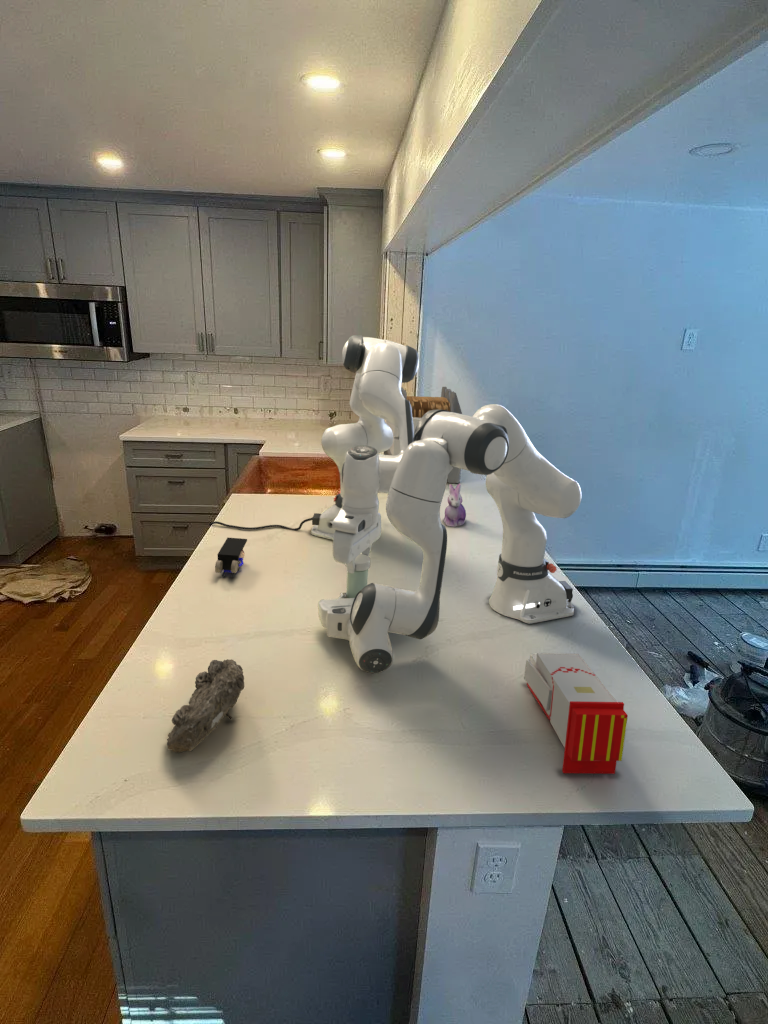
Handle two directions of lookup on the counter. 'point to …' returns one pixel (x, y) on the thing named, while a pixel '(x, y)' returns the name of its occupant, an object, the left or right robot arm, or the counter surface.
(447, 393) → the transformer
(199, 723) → the fossil
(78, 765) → the counter surface
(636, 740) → the counter surface
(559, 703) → the toy
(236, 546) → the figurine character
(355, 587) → the jar
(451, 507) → the figurine
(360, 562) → the lid
